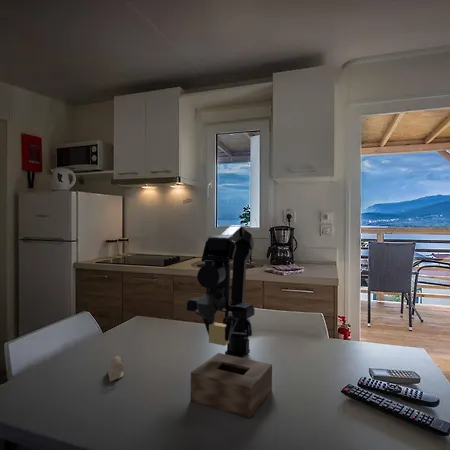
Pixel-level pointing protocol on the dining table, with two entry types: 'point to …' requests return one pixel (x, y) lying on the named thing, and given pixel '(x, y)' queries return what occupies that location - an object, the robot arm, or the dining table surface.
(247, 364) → the walnut box
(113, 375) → the decorative ornament
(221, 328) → the yellow square block
